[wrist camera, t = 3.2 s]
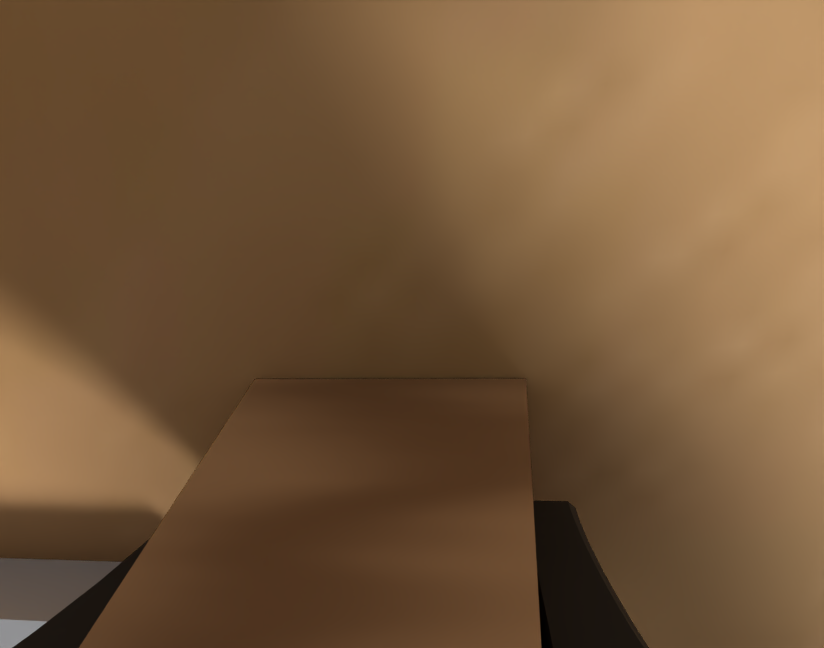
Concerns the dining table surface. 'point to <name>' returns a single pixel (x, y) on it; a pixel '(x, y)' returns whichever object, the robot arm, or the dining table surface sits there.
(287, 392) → the walnut block
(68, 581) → the slate slab
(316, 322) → the dining table surface
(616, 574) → the dining table surface
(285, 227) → the dining table surface
